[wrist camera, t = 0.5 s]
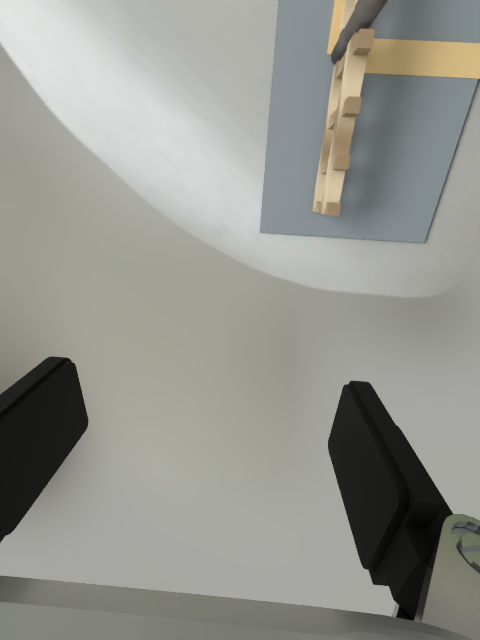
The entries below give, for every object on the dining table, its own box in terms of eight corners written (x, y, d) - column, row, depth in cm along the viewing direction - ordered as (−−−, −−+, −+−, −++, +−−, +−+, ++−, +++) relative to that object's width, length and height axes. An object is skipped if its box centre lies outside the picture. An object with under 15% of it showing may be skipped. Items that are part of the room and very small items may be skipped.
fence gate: (332, 69, 25) (359, 24, 18) (345, 70, 25) (377, 25, 18) (310, 210, 30) (326, 214, 23) (321, 211, 30) (340, 215, 23)
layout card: (288, -113, 21) (288, -122, 21) (541, -105, 21) (549, -113, 20) (259, 231, 32) (259, 232, 32) (426, 242, 32) (429, 243, 31)
